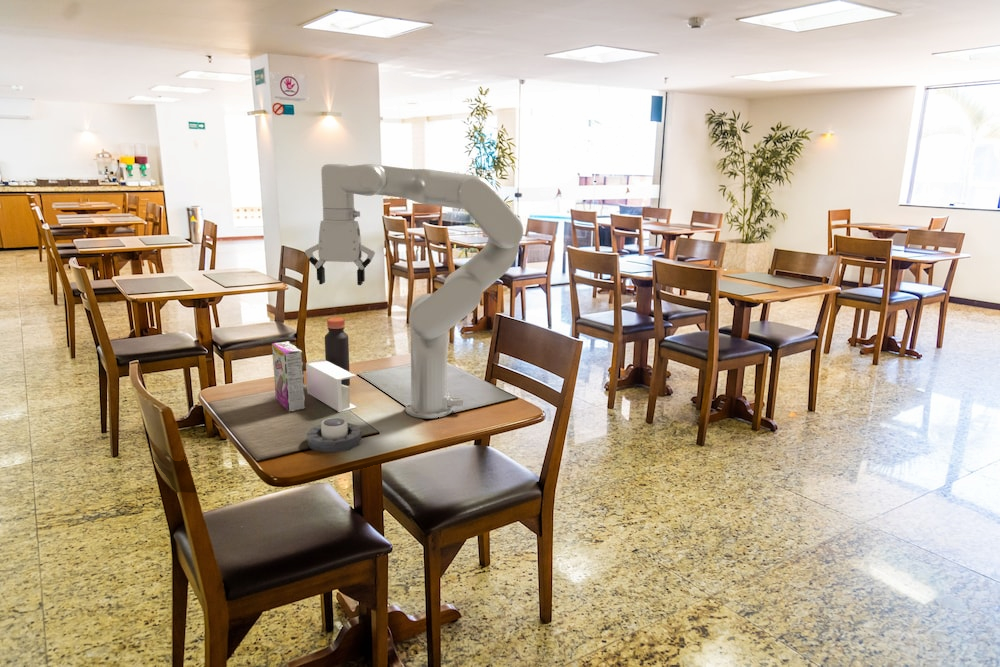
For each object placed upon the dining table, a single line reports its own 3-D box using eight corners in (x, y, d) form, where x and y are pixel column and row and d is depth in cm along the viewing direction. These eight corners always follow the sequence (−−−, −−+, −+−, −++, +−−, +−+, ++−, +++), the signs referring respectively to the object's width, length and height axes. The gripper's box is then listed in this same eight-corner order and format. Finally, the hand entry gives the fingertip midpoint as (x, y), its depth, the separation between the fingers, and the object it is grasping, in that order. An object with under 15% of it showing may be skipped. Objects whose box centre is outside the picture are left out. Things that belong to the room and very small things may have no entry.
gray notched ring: (365, 432, 164) (365, 422, 163) (354, 453, 152) (354, 442, 152) (316, 431, 164) (315, 421, 163) (301, 451, 152) (301, 441, 151)
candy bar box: (274, 400, 184) (270, 343, 180) (292, 397, 187) (289, 340, 183) (287, 412, 175) (284, 352, 171) (306, 409, 178) (303, 350, 174)
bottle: (338, 390, 193) (335, 323, 188) (321, 386, 197) (318, 320, 192) (354, 384, 199) (352, 319, 194) (338, 380, 202) (336, 316, 197)
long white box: (357, 408, 180) (356, 375, 177) (338, 413, 176) (337, 379, 174) (323, 389, 194) (322, 358, 192) (305, 393, 191) (303, 361, 189)
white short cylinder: (350, 437, 161) (349, 417, 160) (344, 447, 155) (343, 427, 154) (325, 436, 161) (324, 416, 160) (318, 447, 155) (317, 426, 154)
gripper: (376, 215, 168) (378, 282, 173) (308, 213, 168) (311, 280, 173) (370, 217, 161) (372, 287, 165) (299, 215, 161) (302, 285, 165)
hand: (341, 283), depth 169 cm, fingers open, 9 cm apart
